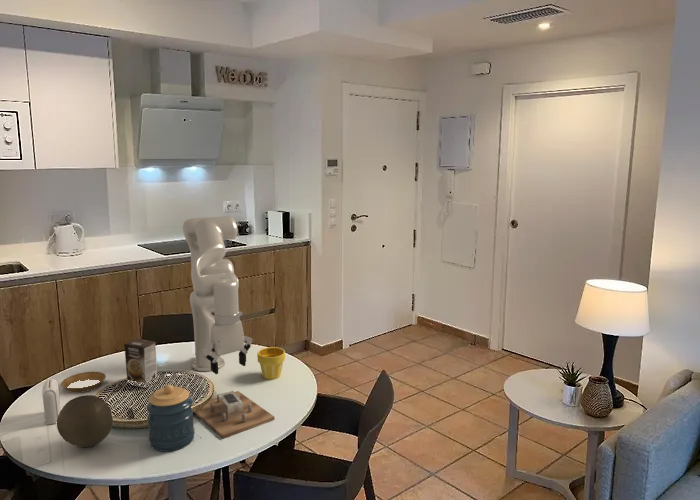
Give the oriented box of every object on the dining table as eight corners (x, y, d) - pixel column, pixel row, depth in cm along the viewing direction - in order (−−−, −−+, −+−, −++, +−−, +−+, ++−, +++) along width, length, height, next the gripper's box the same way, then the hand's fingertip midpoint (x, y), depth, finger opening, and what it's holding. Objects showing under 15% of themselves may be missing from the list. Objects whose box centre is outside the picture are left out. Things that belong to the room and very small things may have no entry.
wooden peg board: (189, 409, 179) (189, 399, 179) (238, 393, 191) (237, 384, 190) (223, 438, 161) (222, 428, 161) (274, 419, 173) (274, 409, 172)
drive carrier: (219, 406, 179) (218, 393, 178) (233, 403, 181) (233, 390, 180) (228, 419, 170) (227, 406, 169) (243, 416, 173) (242, 402, 172)
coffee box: (126, 385, 197) (123, 343, 194) (139, 378, 203) (136, 337, 200) (146, 389, 194) (142, 346, 191) (158, 382, 200) (155, 340, 197)
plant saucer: (51, 392, 192) (51, 385, 192) (83, 375, 206) (82, 369, 206) (85, 397, 188) (84, 390, 188) (115, 380, 202) (114, 374, 201)
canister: (195, 448, 156) (191, 391, 153) (147, 455, 152) (142, 397, 149) (194, 426, 168) (191, 373, 165) (150, 432, 165) (146, 378, 161)
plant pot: (288, 379, 202) (288, 354, 200) (261, 383, 198) (260, 358, 197) (281, 368, 212) (281, 345, 210) (255, 372, 208) (254, 348, 206)
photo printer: (46, 412, 177) (42, 376, 175) (61, 409, 179) (57, 374, 177) (44, 426, 168) (40, 389, 166) (60, 423, 170) (56, 386, 168)
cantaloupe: (79, 431, 165) (74, 386, 162) (123, 434, 164) (119, 388, 161) (49, 457, 151) (44, 408, 149) (97, 460, 150) (92, 411, 147)
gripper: (245, 309, 178) (247, 358, 182) (195, 320, 167) (198, 372, 171) (257, 315, 172) (258, 365, 176) (206, 327, 161) (209, 380, 165)
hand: (228, 368), depth 173 cm, fingers open, 9 cm apart
